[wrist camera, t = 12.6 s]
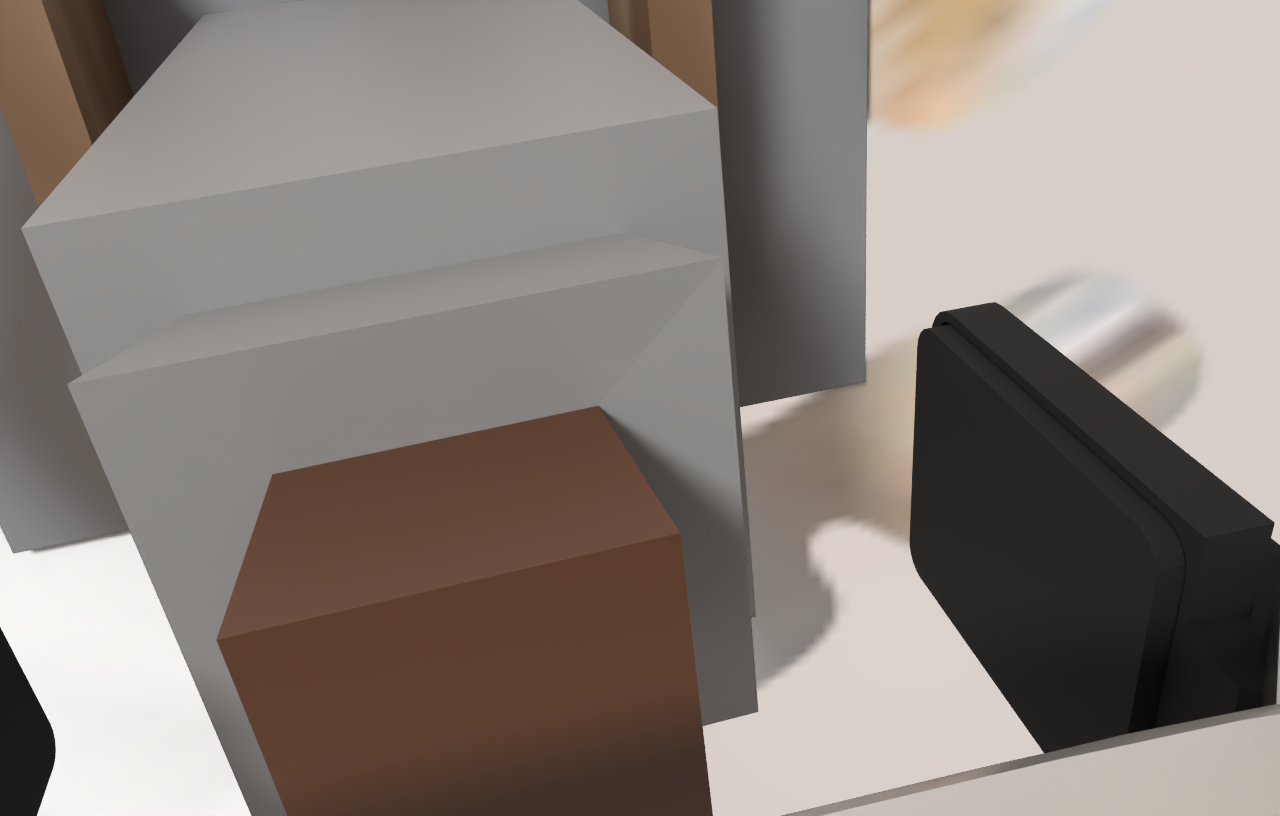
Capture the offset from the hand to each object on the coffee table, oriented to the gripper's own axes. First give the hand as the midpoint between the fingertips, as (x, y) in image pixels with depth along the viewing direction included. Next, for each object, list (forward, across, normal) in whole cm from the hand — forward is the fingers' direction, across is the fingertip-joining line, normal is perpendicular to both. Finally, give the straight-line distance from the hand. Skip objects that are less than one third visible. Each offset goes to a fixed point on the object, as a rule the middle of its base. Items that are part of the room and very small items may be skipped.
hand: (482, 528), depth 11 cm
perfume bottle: (+16, 0, 0) cm, 16 cm away
